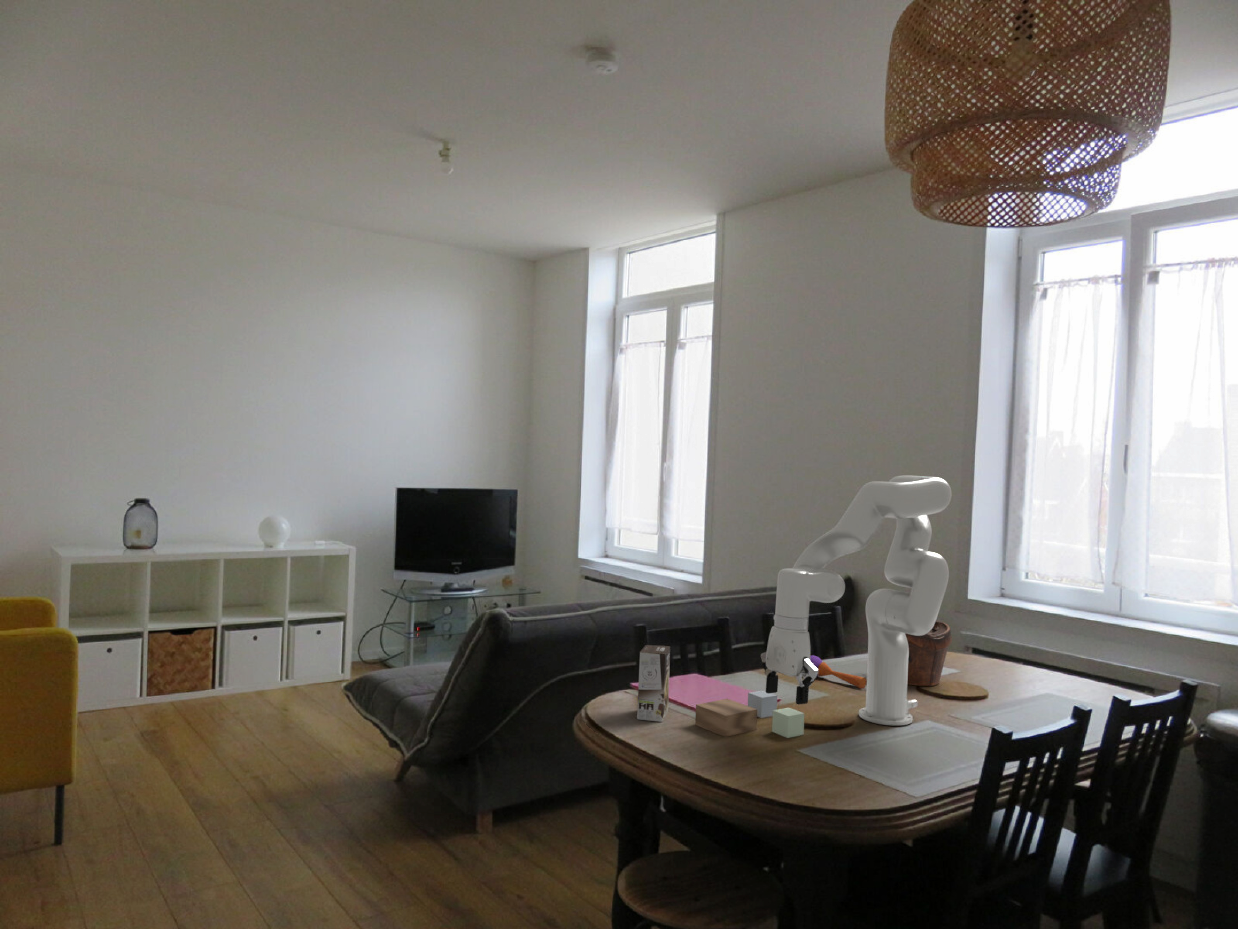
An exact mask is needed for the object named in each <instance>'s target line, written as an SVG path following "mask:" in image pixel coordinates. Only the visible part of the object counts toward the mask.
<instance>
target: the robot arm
mask: <svg viewBox="0 0 1238 929" xmlns="http://www.w3.org/2000/svg"><path fill="white" fill-rule="evenodd" d="M951 500H952V489H951V486H950V484H949V483H948V482H947V481H946V480H945V479H943V478H941V477H937V476H923V475H921V476H920V475H906V474H905V475H897V476H894V477H892V478H891V479H889V481H881V480H880V481H878V480H877V481H876V480H873V481H870V482H869V481H868V482H867V483H865V484H864V485H863V486H862V487H861V488H860V489H859V491H858V492H857V494H856V495H855V497H854V499H853V500H852V501H851V503H850V504H849V505H848V507H847V509H846V511H845V512H844V514H842V516H841V517H840V520H839V521H838V522H837V524H836V525H835V526H834V527H833V528H831V529H829V530H828V531H827V532H826V533H824V534H823V535H821V536H819V537H818V538H817V539H815V540H814V541H813V542H811V543H810V544H809V545H808V546H807V547H806V548H805V549H804V550H803V551H802V552H801V554H800V555H799V557H798V558H797V560H796V561H795V563H794V565H793V566H792V567H791V568H790V567H789V568H782V569H780V570H779V571H778V573H777V581H776V598H775V612H774V613H775V614H774V615H773V620H774V625H773V626H772V627H771V629H770V631H769V635H768V640H767V648H766V651H764V652H762V653H761V654H760V658H761V659H760V660H761V663H762V664H761V666H762V667H763V670H764V674H765V676H766V677H765V678H766V679H765V680H766V681H765V691H766V693H768V694H769V693H772V694H776V693H778V689H779V675H778V674H782V675H784V676H787V677H791V678H792V677H793V678H795V679H796V681H797V683H798V685H797V686H796V693H795V704H796V705H805V704H808V702H809V691H810V687H811V686H812V684H813V683H814V682H815V681H816V678H817V677H818V676H817V674H818V669H817V668H816V667H815V666H814V665H813V664H812V663H811V662H810V656H811V639H810V632H809V631H808V630H809V616H810V602H818V603H824V604H827V603H828V604H829V603H830V604H831V603H835V602H837V601H838V600H840V599H842V597H843V595H844V593H845V590H846V583H845V580H844V578H843V577H842V576H841V575H840V574H839V573H837V572H835V571H834V570H830V569H825V568H826V566H828V565H829V564H830V563H831V562H833V561H834V560H837V559H838V558H840V557H843V556H846V555H850V554H852V553H856V552H858V551H862V550H863V549H865V548H866V547H867V546H868V545H869V544H870V543H871V541H872V540H873V539H872V538H873V537H874V536H875V534H876V532H877V531H878V530H879V528H880V527H881V525H882V524H883V522H884V520H885V519H886V518H889V519H896V529H895V532H894V536H893V539H892V542H891V545H890V547H889V552H888V554H887V557H886V561H885V564H884V570H883V573H884V576H885V578H886V580H887V581H888V582H890V583H891V584H893V585H896V586H899V587H904V588H908V589H911V590H910V592H906V591H902V590H899V589H898V590H896V589H893V588H879V589H875V590H874V591H872V592H871V593H870V594H869V596H868V597H867V599H866V601H865V602H866V603H865V617H866V623H867V633H868V639H867V642H868V643H867V645H868V646H867V648H868V649H867V664H866V665H867V666H866V668H867V670H866V681H867V682H866V687H865V689H866V690H865V707H862V708H860V709H859V710H858V717H859V718H861V719H863V721H867V722H870V723H872V724H876V725H877V724H878V725H884V726H894V727H895V726H897V727H898V726H908V725H909V724H912V723H913V720H914V719H913V718H914V717H913V715H912V714H911V713H909V710H910V709H913V708H917V707H918V705H919V704H918V700H916V699H914V698H913V699H908V684H907V681H908V657H909V647H908V641H907V638H906V635H905V633H906V634H910V635H915V636H922V635H925V634H927V633H928V632H929V631H930V630H931V629H932V627H933V626H934V624H935V621H937V618H938V616H939V615H938V614H939V612H940V609H941V607H942V602H943V600H944V596H945V593H946V590H947V586H948V583H949V578H950V577H949V576H950V573H949V569H950V568H949V565H948V562H947V561H946V559H945V558H944V557H943V556H942V555H941V554H939V553H937V552H933V551H929V547H930V544H931V539H932V533H933V532H932V531H933V530H932V524H931V521H930V519H929V516H928V515H933V514H938V513H940V512H943V511H944V510H945V509H946V508H947V507H948V506H949V504H950V502H951ZM808 673H809V675H808Z"/></svg>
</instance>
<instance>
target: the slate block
mask: <svg viewBox="0 0 1238 929" xmlns="http://www.w3.org/2000/svg"><path fill="white" fill-rule="evenodd" d="M747 706H749V707H752V708H755V709H757V718H760V719H764V718H769V717H773V710H778V709H777V708H778V695H777V694H776V693H769V694H768V693H766V690H763V689H762V690H756V691H750V692H747Z"/></svg>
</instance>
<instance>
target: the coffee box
mask: <svg viewBox="0 0 1238 929" xmlns="http://www.w3.org/2000/svg"><path fill="white" fill-rule="evenodd" d="M638 662H639V665H638V686H637V687H638V689H637V712H636V714H637V715H636V719H637V720H638V721H639V720H640V721H650V722H651V721H652V722H660V723H663V721H664V720H665V718H666V715H667V714H668V712H669V696H670V694H669V692H670V663H671V646H669V645H649V644H645V645H644V646H643V648H642V649H641V650H640V651H639V661H638Z"/></svg>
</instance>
